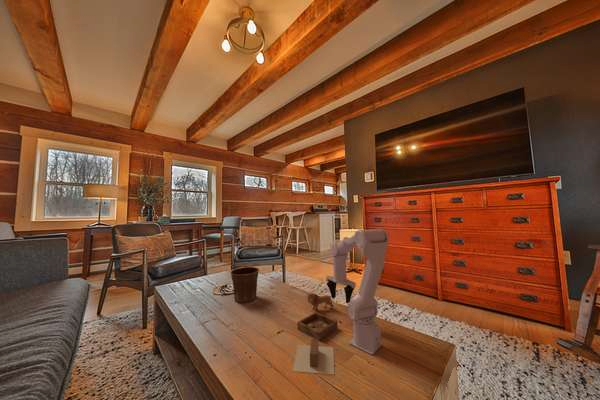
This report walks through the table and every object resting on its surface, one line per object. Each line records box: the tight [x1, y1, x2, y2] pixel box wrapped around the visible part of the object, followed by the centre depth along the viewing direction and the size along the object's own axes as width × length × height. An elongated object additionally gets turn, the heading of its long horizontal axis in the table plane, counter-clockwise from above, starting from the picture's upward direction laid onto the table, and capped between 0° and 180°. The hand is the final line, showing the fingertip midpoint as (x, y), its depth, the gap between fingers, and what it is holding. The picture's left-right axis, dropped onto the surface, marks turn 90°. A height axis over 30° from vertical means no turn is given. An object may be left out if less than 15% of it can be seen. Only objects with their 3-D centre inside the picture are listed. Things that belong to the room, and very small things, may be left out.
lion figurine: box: [306, 292, 335, 313], centre depth 108 cm, size 15×5×9 cm, turn 112°
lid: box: [291, 338, 335, 376], centre depth 72 cm, size 13×13×5 cm
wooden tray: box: [297, 311, 339, 342], centre depth 90 cm, size 12×12×3 cm
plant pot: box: [230, 266, 260, 304], centre depth 123 cm, size 16×16×16 cm
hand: (340, 300), depth 96 cm, fingers open, 7 cm apart
